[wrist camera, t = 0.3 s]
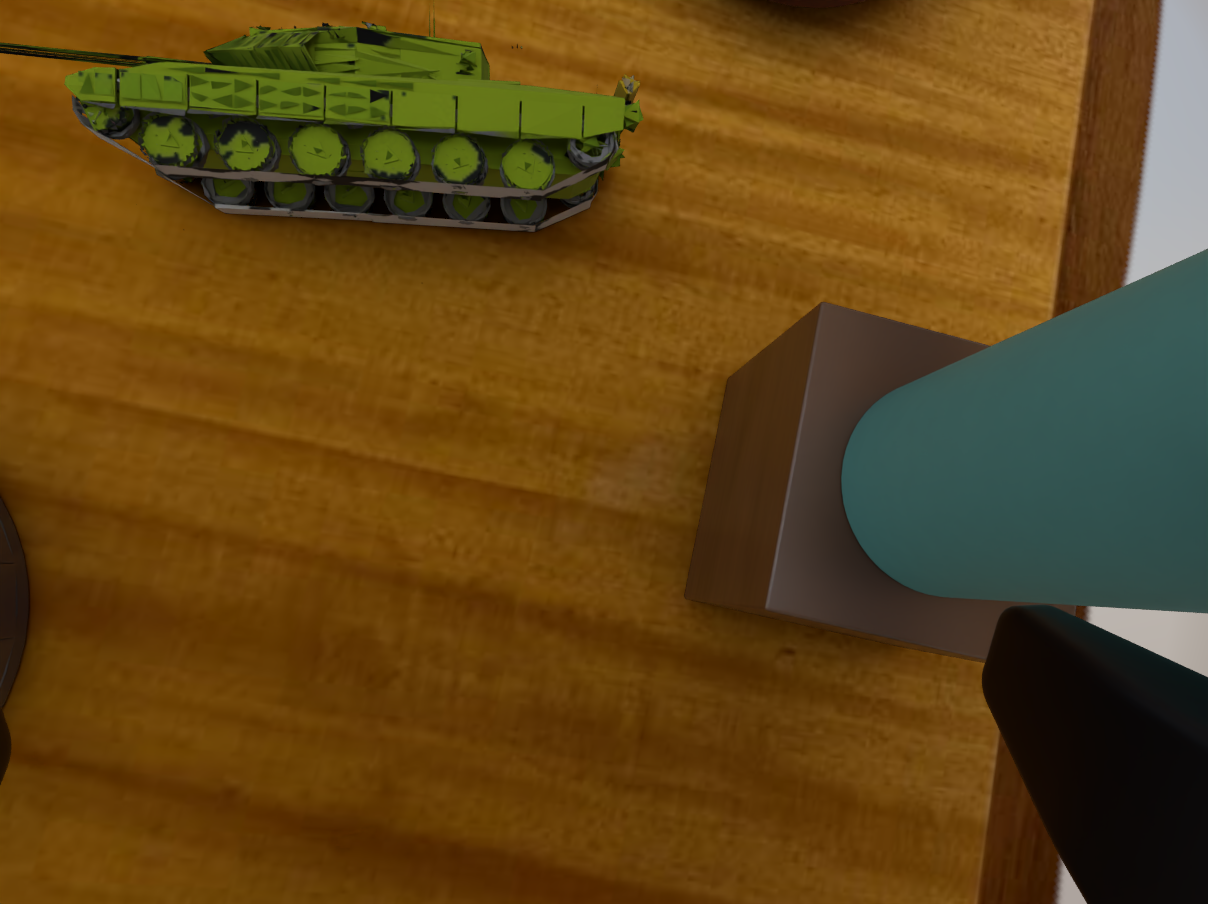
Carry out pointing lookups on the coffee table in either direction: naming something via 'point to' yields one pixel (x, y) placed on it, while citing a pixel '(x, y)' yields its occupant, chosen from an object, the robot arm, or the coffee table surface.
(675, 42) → the coffee table surface
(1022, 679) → the robot arm
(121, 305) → the coffee table surface
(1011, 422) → the wooden doll
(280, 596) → the coffee table surface
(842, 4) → the vase
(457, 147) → the toy tank
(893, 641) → the walnut block
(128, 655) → the coffee table surface
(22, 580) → the round grey tray
